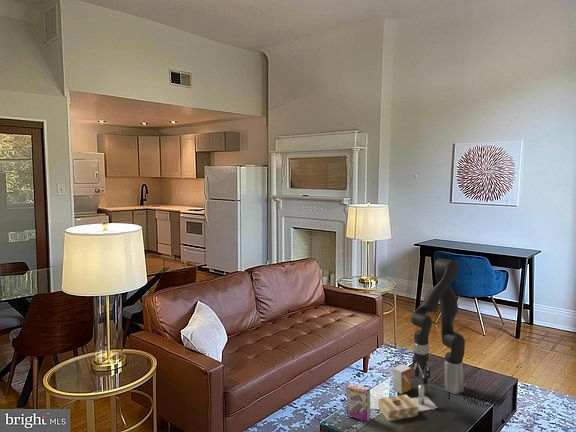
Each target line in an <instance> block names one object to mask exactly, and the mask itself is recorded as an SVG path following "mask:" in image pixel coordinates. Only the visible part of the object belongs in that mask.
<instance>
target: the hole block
mask: <svg viewBox="0 0 576 432" xmlns="http://www.w3.org/2000/svg"><path fill="white" fill-rule="evenodd" d="M410 398H411V397H410V396H408V394H400V395H395V396H389V397H383V398H378V409H379V411H380V412H381V413H382V414H383V416H384V417H385V419H386V420H387V421H388V422H391V421H397V420H402V419H409V418H413V417H418V416H419V412H418V406H417V405H416V404H415V403H414V402H413V401H412V400H411V399H410Z"/></svg>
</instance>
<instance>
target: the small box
mask: <svg viewBox="0 0 576 432" xmlns="http://www.w3.org/2000/svg"><path fill="white" fill-rule="evenodd" d="M392 379H393V380H392V382H393V384H392V385H393V386H392V388H393V390H394V391H395V392H397V393H399V394H400V395H404V393H407V392H408V391H411V390H412V368H411V367H410V366H408V365H405V364H404V363H403V364H400V365H397V366H395V367H393V368H392Z"/></svg>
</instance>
